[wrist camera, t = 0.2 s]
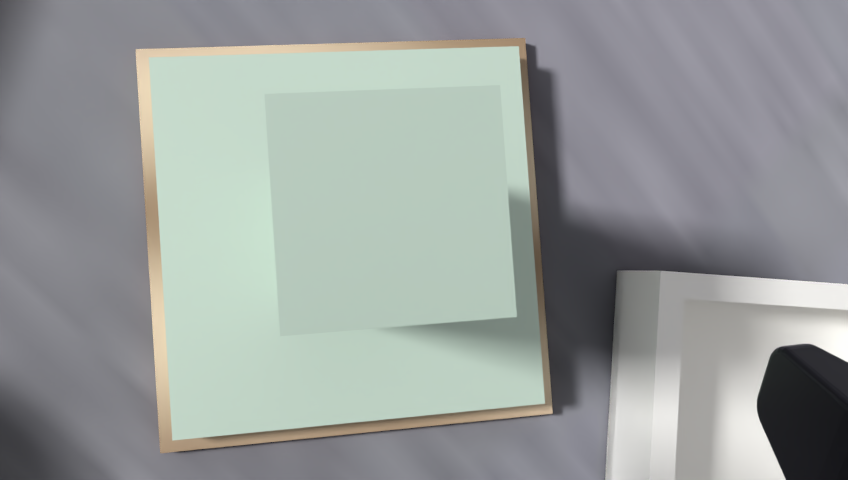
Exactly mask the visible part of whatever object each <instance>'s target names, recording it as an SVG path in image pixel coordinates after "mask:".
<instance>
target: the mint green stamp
mask: <svg viewBox="0 0 848 480" xmlns="http://www.w3.org/2000/svg"><path fill="white" fill-rule="evenodd" d="M149 69H150V85H151V101H152V117H153V134H154V150H155V166H156V182H157V199H158V215H159V231H160V247H161V264H162V280H163V296H164V312H165V329H166V345H167V361H168V377H169V394H170V410H171V426H172V441H173V440H183V439H193V438H203V437H213V436H223V435H233V434H244V433H254V432H264V431H274V430H284V429H294V428H304V427H314V426H324V425H334V424H345V423H355V422H365V421H375V420H385V419H395V418H405V417H415V416H425V415H436V414H446V413H456V412H466V411H476V410H486V409H496V408H506V407H516V406H526V405H537V404H545V396H544V383H543V369H542V355H541V342H540V328H539V315H538V301H537V287H536V274H535V260H534V246H533V233H532V219H531V206H530V192H529V178H528V165H527V151H526V137H525V124H524V110H523V97H522V83H521V69H520V56H519V46H508V47H475V48H442V49H409V50H376V51H343V52H310V53H278V54H245V55H212V56H179V57H149Z"/></svg>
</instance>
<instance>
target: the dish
mask: <svg viewBox="0 0 848 480" xmlns="http://www.w3.org/2000/svg"><path fill="white" fill-rule="evenodd" d="M797 344H812V345H815V346H817V347H819V348H821V349H823V350H825V351H827V352H829V353H831V354H833V355H835V356H837V357H839V358H841V359H842V360H844V361H846V362H848V284H836V283H823V282H809V281H795V280H781V279H768V278H754V277H740V276H726V275H713V274H699V273H685V272H671V271H617V282H616V300H615V317H614V335H613V352H612V369H611V387H610V404H609V422H608V439H607V457H606V474H605V480H786V479H785V477H784V475H783V472H782V470H781V468H780V466H779V463H778V461H777V459H776V457H775V454H774V452H773V450H772V447H771V445H770V443H769V441H768V438H767V436H766V434H765V432H764V429H763V427H762V425H761V423H760V420H759V417H758V413H757V397H758V393H759V390H760V387H761V384H762V380H763V377H764V374H765V371H766V367H767V364H768V361H769V358H770V355H771V353H772V352H773V351H774V350H775V349H776V348H778V347H781V346H788V345H797Z"/></svg>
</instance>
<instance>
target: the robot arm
mask: <svg viewBox="0 0 848 480" xmlns="http://www.w3.org/2000/svg"><path fill="white" fill-rule="evenodd" d="M757 413H758V417H759V420H760V423H761V425H762V427H763V429H764V432H765V434H766V436H767V438H768V441H769V443H770V445H771V447H772V450H773V452H774V454H775V457H776V459H777V461H778V463H779V466H780V468H781V470H782V472H783V475H784V477H785V479H786V480H848V362H846V361H844V360H842V359H841V358H839V357H837V356H835V355H833V354H831V353H829V352H827V351H825V350H823V349H821V348H819V347H817V346H815V345H812V344H797V345H788V346H781V347H778V348H776V349H775V350H774V351H773V352H772V353H771V355H770V358H769V361H768V364H767V367H766V371H765V374H764V377H763V380H762V384H761V387H760V390H759V393H758V397H757Z"/></svg>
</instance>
